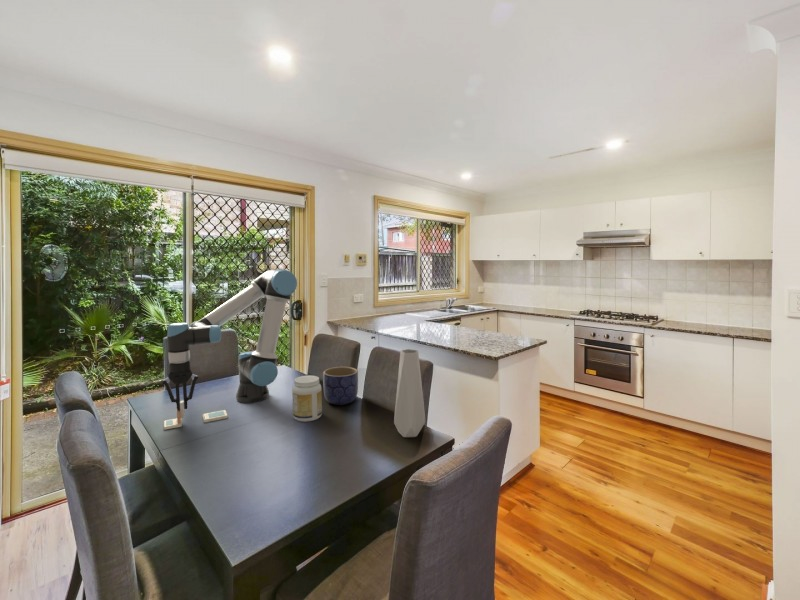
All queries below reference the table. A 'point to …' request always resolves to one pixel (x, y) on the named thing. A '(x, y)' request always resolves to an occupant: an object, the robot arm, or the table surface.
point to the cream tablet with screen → (214, 416)
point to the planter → (340, 385)
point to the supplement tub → (307, 398)
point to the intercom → (173, 422)
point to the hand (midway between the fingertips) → (182, 416)
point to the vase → (409, 395)
